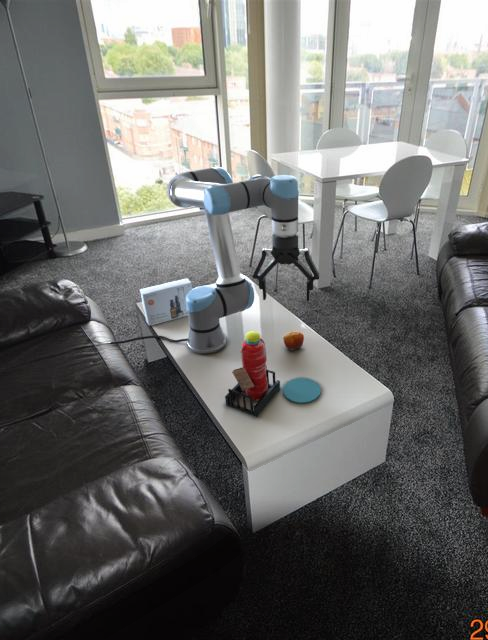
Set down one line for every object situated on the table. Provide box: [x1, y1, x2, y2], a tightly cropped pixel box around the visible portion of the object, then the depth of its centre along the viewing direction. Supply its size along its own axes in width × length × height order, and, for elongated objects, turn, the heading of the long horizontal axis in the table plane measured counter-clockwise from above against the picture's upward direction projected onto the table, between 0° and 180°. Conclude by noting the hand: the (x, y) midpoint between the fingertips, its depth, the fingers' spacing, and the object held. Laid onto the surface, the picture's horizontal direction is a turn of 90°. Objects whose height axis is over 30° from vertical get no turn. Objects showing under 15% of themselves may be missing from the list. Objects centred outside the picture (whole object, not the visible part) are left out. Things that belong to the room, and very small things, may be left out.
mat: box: [282, 377, 322, 405], centre depth 151 cm, size 13×13×1 cm
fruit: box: [283, 330, 305, 352], centre depth 172 cm, size 8×8×8 cm
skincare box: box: [139, 277, 193, 327], centre depth 190 cm, size 21×6×16 cm, turn 120°
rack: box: [224, 368, 281, 418], centre depth 147 cm, size 12×15×7 cm
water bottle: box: [231, 330, 269, 401], centre depth 142 cm, size 12×8×25 cm, turn 128°
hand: (286, 298), depth 138 cm, fingers open, 13 cm apart
